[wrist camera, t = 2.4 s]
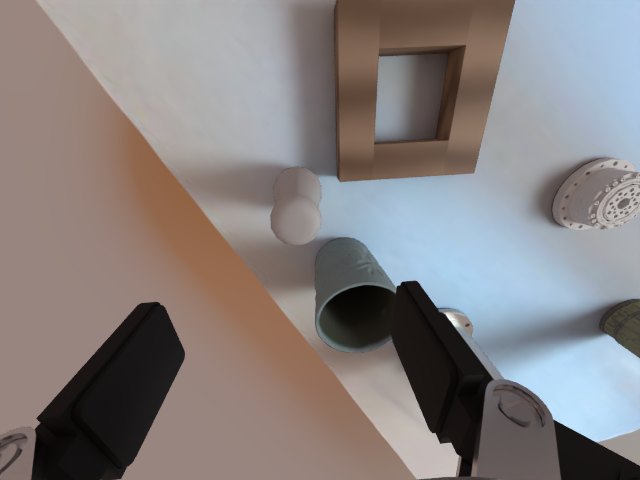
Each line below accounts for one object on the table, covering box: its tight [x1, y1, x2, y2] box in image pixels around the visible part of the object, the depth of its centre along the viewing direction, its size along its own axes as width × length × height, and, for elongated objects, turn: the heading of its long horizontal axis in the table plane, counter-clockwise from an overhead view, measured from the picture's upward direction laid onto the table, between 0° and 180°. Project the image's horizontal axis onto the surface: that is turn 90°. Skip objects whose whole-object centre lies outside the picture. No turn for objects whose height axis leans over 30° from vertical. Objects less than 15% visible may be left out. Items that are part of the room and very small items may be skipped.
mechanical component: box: [552, 158, 640, 230], centre depth 32 cm, size 10×4×10 cm
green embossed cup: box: [315, 238, 396, 353], centre depth 31 cm, size 10×10×12 cm
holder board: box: [334, 0, 515, 182], centre depth 25 cm, size 16×16×3 cm
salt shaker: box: [270, 167, 322, 246], centre depth 25 cm, size 6×6×13 cm
